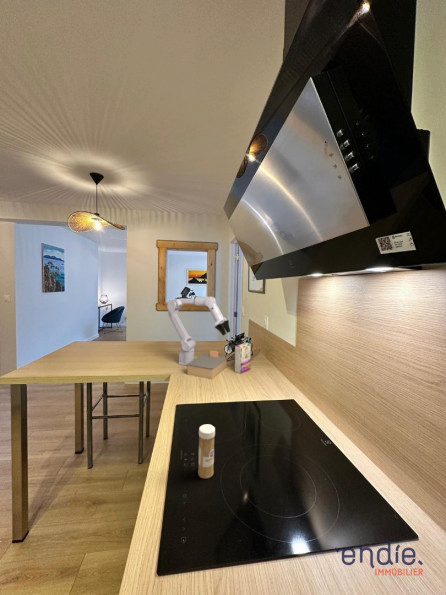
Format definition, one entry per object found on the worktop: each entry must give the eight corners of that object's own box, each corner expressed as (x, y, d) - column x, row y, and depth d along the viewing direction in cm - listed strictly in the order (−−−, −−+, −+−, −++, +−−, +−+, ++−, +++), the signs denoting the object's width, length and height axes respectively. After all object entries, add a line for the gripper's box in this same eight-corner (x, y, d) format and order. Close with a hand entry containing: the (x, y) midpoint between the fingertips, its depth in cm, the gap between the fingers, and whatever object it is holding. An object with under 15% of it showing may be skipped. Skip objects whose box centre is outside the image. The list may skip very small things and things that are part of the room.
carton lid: (186, 364, 147) (187, 358, 147) (204, 354, 168) (204, 348, 168) (212, 369, 141) (213, 362, 141) (227, 358, 162) (227, 352, 162)
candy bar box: (243, 367, 163) (244, 342, 162) (250, 369, 160) (251, 343, 159) (233, 372, 154) (234, 345, 153) (240, 374, 151) (241, 347, 150)
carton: (187, 374, 148) (187, 365, 148) (204, 363, 168) (204, 355, 168) (212, 379, 142) (212, 369, 142) (226, 367, 162) (226, 358, 162)
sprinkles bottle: (209, 481, 70) (211, 434, 69) (195, 476, 71) (196, 430, 71) (216, 470, 74) (217, 425, 73) (202, 465, 76) (203, 422, 75)
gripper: (217, 312, 151) (227, 333, 149) (226, 309, 164) (235, 328, 163) (208, 318, 153) (218, 338, 152) (217, 314, 167) (226, 333, 165)
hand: (226, 333), depth 157 cm, fingers open, 7 cm apart
